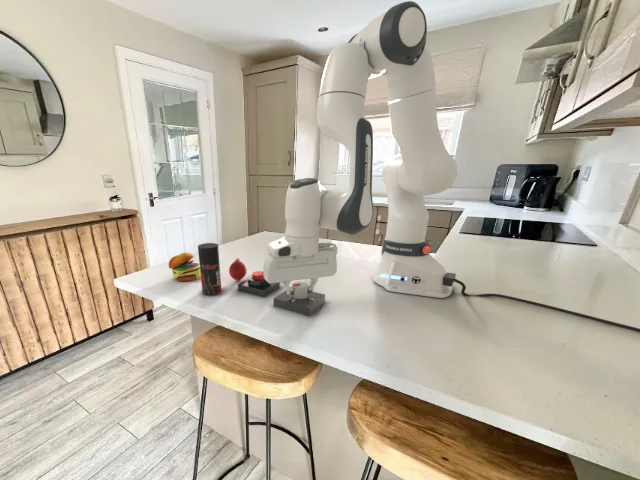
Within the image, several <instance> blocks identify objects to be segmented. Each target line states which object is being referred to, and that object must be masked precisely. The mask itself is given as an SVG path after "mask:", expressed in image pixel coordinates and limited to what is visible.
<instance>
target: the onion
mask: <svg viewBox="0 0 640 480" xmlns="http://www.w3.org/2000/svg"><path fill="white" fill-rule="evenodd" d="M228 272H229V276H230V277H231V278H232V279H233V280H235V281H236V282H241V280H242V279H244V278H245V276H246V274H247V267H246V265H245V264H244V263H243V262H242V261H241V260H240V258H239V257H237V258H236V259H235V261H233V262H232V263H231V264H230V266H229V269H228Z"/></svg>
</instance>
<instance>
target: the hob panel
mask: <svg viewBox="0 0 640 480" xmlns="http://www.w3.org/2000/svg"><path fill="white" fill-rule="evenodd" d="M325 303H326V294H325V293H321V292H316V291H313V292H312V293H308V297H307V298H306V299H295V298H293V297H292V295H290V296H288V295H287V289H285V290H284V291H282V292H281V293H279V294H278V295H276V296H274V298H273V307H275V308H279V309H283V310H285V311H289V312H292V313H296V314H299V315H303V316H307V317H310V316H311V315H313V313H315V312H316V311H317V310H318V309H320V308H321V306H323V305H324V304H325Z"/></svg>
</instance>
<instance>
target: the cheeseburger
mask: <svg viewBox="0 0 640 480" xmlns="http://www.w3.org/2000/svg"><path fill="white" fill-rule="evenodd" d="M194 258H195V256H194V254H193V253H192V252H186V251H185V252H181V253H180V254H178V255H174V256H172V257H171V258H170V260H169V262H168V268H169V269H171V271H172V276H173V278H174V279H175V280H177V281H180V282H184V281H185V282H186V281H191V280H199V279H201V273H200V263H198V262H194V261H195V259H194ZM192 259H193V260H192Z"/></svg>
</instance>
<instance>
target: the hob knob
mask: <svg viewBox="0 0 640 480" xmlns="http://www.w3.org/2000/svg"><path fill="white" fill-rule="evenodd" d="M308 285H309V283H308V282H305V281H293V282H292V284H291V287H292V289H294V292H293V293H294V295H292V297H293V298H295V299H306V298H307V297H308Z"/></svg>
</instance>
